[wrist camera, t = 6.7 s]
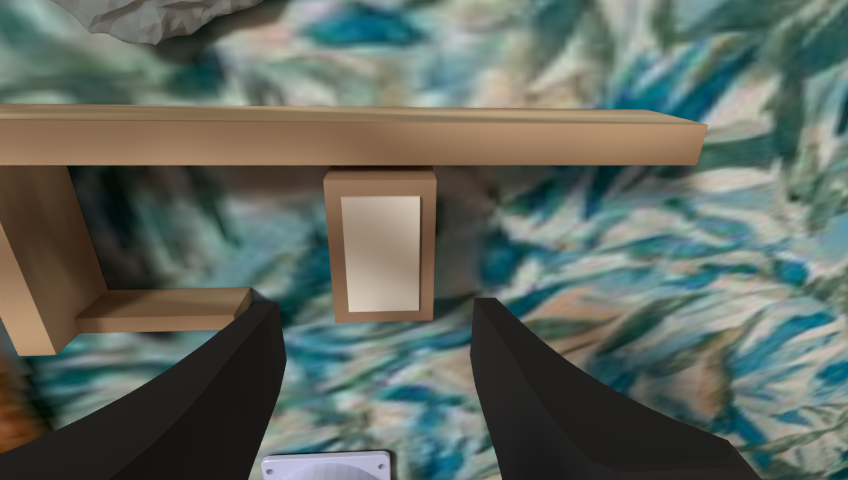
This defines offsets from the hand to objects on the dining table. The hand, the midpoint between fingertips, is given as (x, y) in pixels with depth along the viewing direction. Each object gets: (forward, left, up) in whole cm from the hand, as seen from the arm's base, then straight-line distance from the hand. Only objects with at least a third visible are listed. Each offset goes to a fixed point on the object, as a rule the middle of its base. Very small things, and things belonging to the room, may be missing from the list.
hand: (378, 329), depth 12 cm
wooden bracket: (0, +2, -9) cm, 10 cm away
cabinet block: (0, 0, -10) cm, 10 cm away
